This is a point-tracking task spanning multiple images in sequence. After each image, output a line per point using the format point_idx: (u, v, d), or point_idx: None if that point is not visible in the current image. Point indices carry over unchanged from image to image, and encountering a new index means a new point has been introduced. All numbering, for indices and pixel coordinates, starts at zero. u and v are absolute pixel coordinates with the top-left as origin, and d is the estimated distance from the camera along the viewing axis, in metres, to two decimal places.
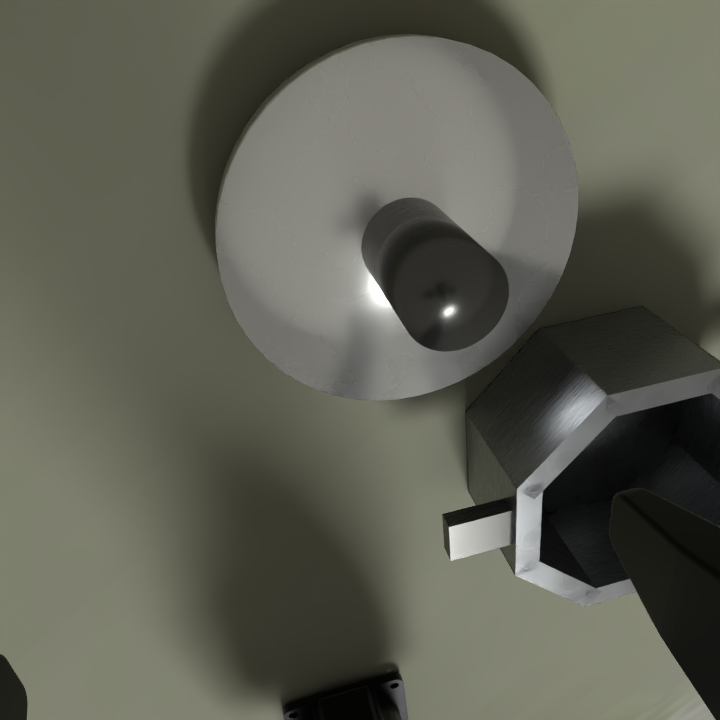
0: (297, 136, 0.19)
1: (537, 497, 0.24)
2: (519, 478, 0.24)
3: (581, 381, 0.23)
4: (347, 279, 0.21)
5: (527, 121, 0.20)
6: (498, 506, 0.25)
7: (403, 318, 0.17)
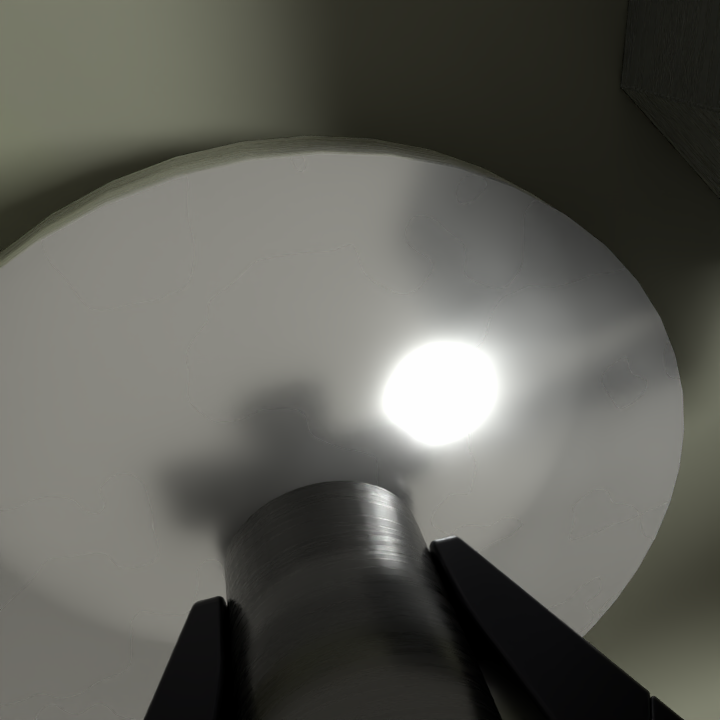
0: None
1: None
2: None
3: None
4: None
5: (2, 376, 0.07)
6: None
7: None
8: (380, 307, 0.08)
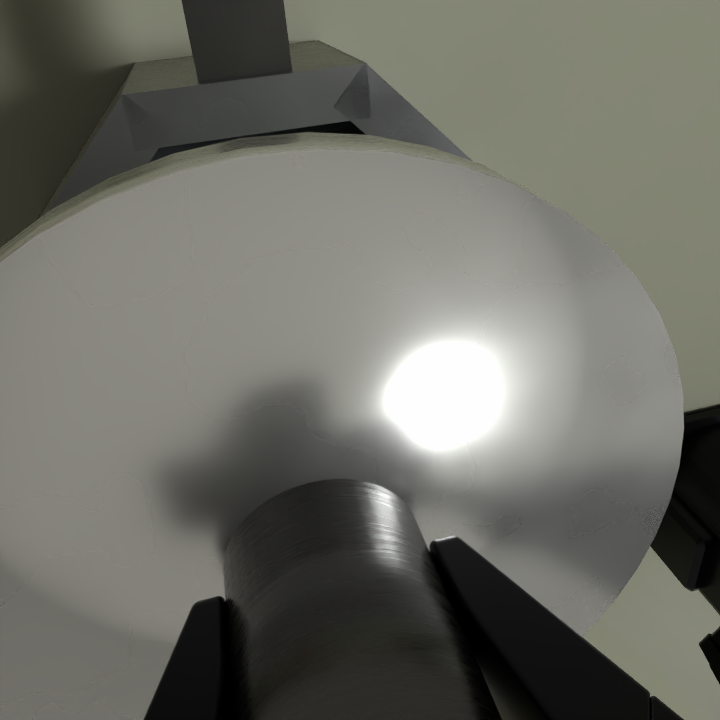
0: None
1: None
2: None
3: None
4: None
5: None
6: None
7: None
8: (379, 304, 0.08)
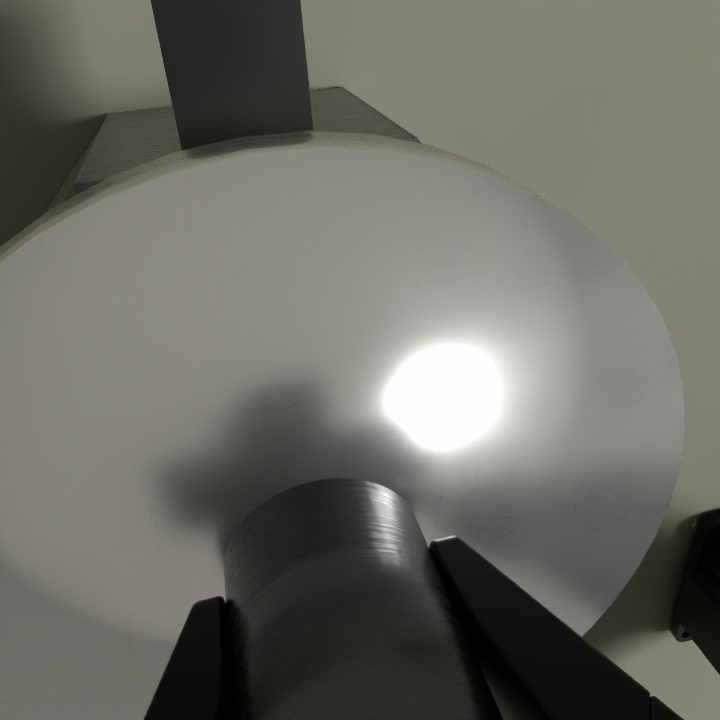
0: None
1: None
2: None
3: None
4: None
5: (0, 371, 0.07)
6: None
7: None
8: (380, 303, 0.08)
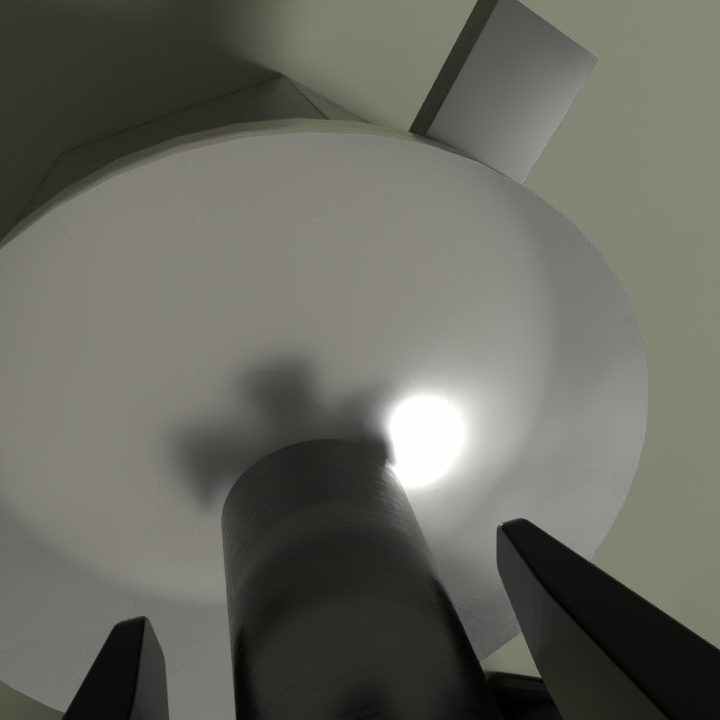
0: None
1: None
2: None
3: None
4: None
5: (19, 335, 0.08)
6: None
7: None
8: (362, 275, 0.09)
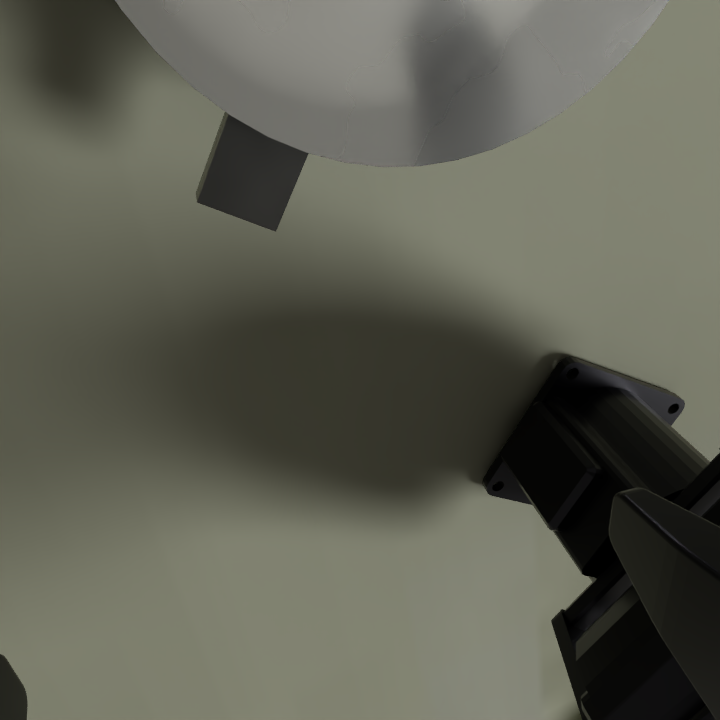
0: (233, 33, 0.11)
1: None
2: None
3: None
4: None
5: None
6: None
7: None
8: None
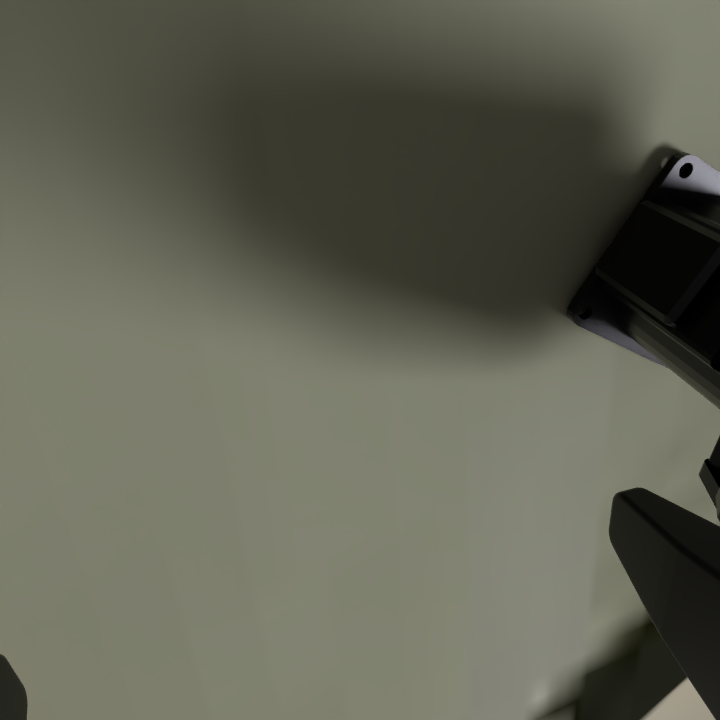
0: None
1: None
2: None
3: None
4: None
5: None
6: None
7: None
8: None
